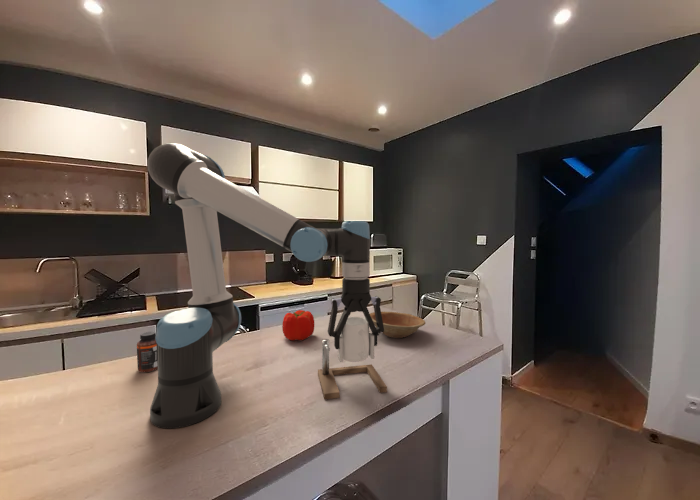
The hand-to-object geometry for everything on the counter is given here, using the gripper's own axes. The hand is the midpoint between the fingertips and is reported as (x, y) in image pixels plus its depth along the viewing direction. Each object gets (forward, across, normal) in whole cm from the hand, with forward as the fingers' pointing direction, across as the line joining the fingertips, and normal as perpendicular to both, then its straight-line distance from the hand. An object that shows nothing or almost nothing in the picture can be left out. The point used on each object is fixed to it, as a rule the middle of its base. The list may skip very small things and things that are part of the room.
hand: (356, 358), depth 85 cm
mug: (0, 0, 0) cm, 1 cm away
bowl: (+8, +26, +37) cm, 46 cm away
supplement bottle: (+8, -61, +24) cm, 66 cm away
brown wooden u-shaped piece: (+8, -1, +2) cm, 8 cm away
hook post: (+6, -8, +4) cm, 11 cm away
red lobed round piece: (+8, -14, +42) cm, 45 cm away
